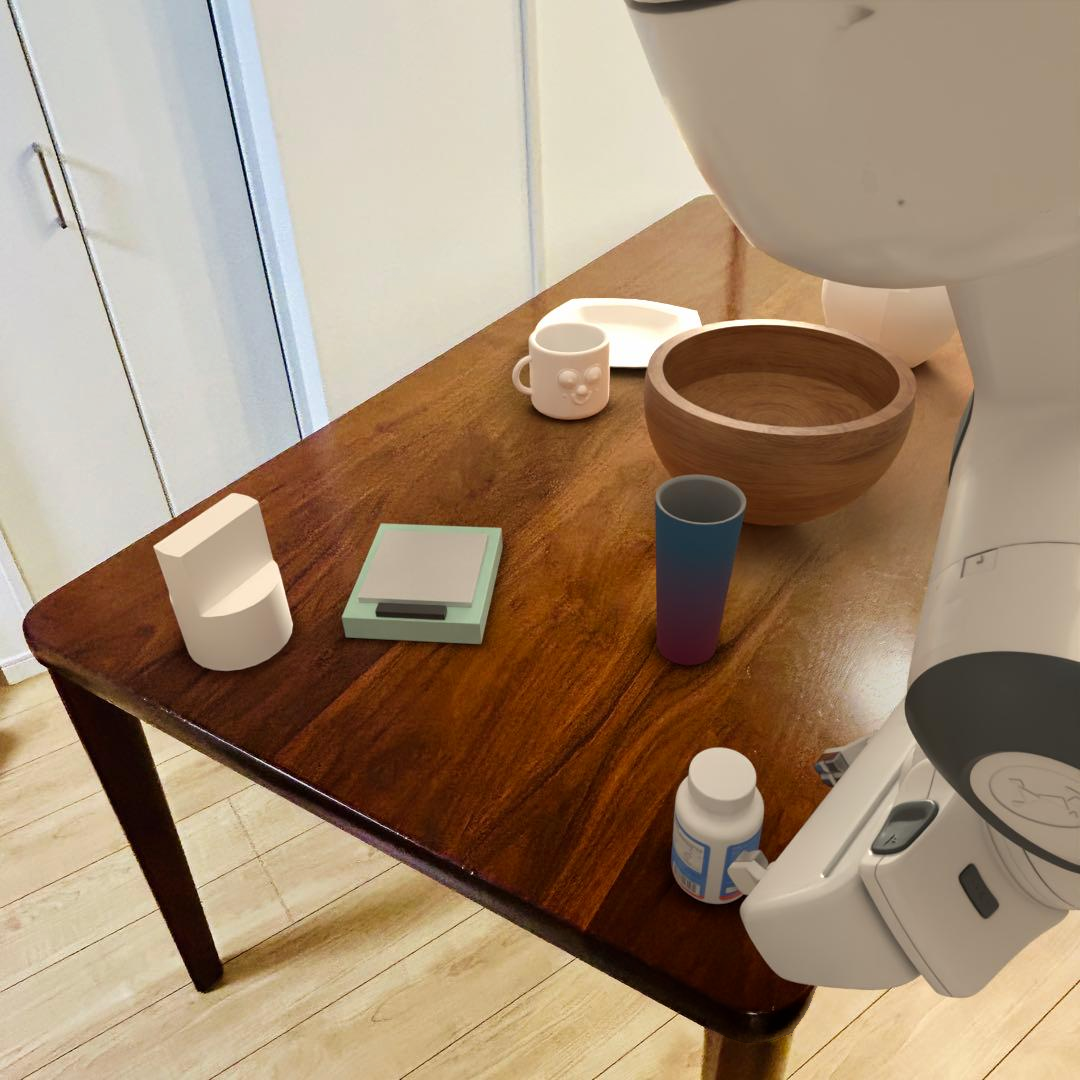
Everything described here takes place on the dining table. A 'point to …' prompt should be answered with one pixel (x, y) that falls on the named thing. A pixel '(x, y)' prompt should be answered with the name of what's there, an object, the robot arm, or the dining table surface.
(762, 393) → the bowl
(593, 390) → the mug
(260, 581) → the base with upright slab
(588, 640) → the dining table surface
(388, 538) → the scale
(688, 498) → the cup
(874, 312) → the vase
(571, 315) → the plate
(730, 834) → the pill bottle
